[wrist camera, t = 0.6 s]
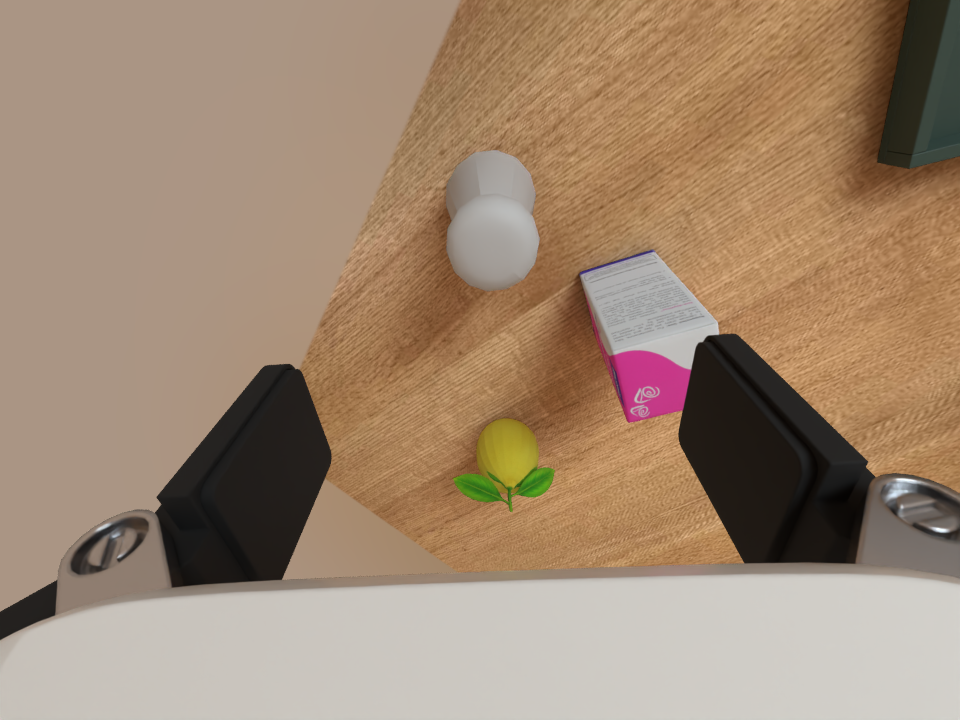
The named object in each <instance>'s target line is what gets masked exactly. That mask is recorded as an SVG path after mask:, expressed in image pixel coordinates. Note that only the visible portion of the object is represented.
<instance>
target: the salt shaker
mask: <svg viewBox="0 0 960 720" xmlns="http://www.w3.org/2000/svg"><path fill="white" fill-rule="evenodd" d="M535 197H536V192H535V189H534V185H533V182H532V178H531V175H530V173H529V172H528V170H527V169H526V168H525V167H524V166H523V165H522V164H521V162H520V161H519V160H518V159H517V158H516V157H514V156H511V155H508V154H506V153H503V152H500V151H497V150H492V151H483V152H475V153H473V154H472V155H471V156H469V157H468V158H467V159H465V160H464V161H462V162H461V163H460V164H458V165H457V167H456V169H455V170H454V172H453V174H452V176H451V177H450V179H449V181H448V183H447V189H446V207H447V210H448V212H449V215H450V218H451V221H452V222H451V223H450V225H449V227H448V229H447V246H446V250H447V254H448V256H449V259H450V261H451V264H452V266H453V269H454V272H455V273H456V274H457V275H458V276H459V277H461V278H462V279H463V280H464V281H465V282H466V283H467V284H468V285H470V286H473V287H476V288H479V289H482V290H485V291H494V290H503V289H508V288H509V287H511V286H513V285H515V284H517V283H518V282H520V281H522V280H524V278H525V277H526V275H527V274H528V273H529V271H530V270H531V268H532V267H533V265H534V264H535V261H536V256H537V251H538V246H539V240H540V238H539V235H538V231H537V228H536V225H535V221H534V218H533V217H532V215H533V209H534V203H535Z"/></svg>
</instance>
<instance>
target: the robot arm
mask: <svg viewBox="0 0 960 720" xmlns="http://www.w3.org/2000/svg"><path fill="white" fill-rule="evenodd" d="M678 434H679V442H680V445H681V448H682V449H683V451H684V453H685V455H686V457H687V459H688V460H689V462H690V464H691V466H692V468H693V470H694V471H695V473H696V475H697V477H698V479H699V481H700V482H701V484H702V486H703V488H704V490H705V492H706V493H707V495H708V497H709V499H710V501H711V503H712V505H713V506H714V508H715V510H716V512H717V514H718V516H719V517H720V519H721V521H722V523H723V525H724V527H725V528H726V530H727V532H728V534H729V536H730V538H731V539H732V541H733V543H734V545H735V547H736V549H737V550H738V552H739V554H740V556H741V558H742V560H743V561H744V563H745V564H698V565H666V566H634V567H602V568H571V569H543V570H515V571H488V572H461V573H435V574H409V575H385V576H363V577H362V576H361V577H339V578H315V579H291V580H282V578H283V576H284V573H285V571H286V569H287V566H288V564H289V562H290V559H291V557H292V555H293V552H294V550H295V547H296V545H297V543H298V540H299V538H300V535H301V533H302V531H303V529H304V526H305V524H306V521H307V519H308V517H309V514H310V512H311V510H312V507H313V505H314V502H315V500H316V498H317V495H318V493H319V491H320V488H321V486H322V484H323V481H324V479H325V477H326V474H327V472H328V469H329V467H330V464H331V450H330V447H329V444H328V442H327V439H326V436H325V434H324V431H323V428H322V425H321V423H320V420H319V417H318V415H317V412H316V409H315V406H314V404H313V401H312V398H311V395H310V393H309V390H308V387H307V385H306V382H305V379H304V376H303V374H302V372H301V371H300V370H298V369H295V368H294V367H293V366H292V365H290V364H282V365H281V364H280V365H267V366H264V367H263V368H262V369H261V370H260V371H259V373H258V374H257V375H256V376H255V378H254V379H253V380H252V381H251V382H250V384H249V385H248V386H247V387H246V388H245V390H244V391H243V392H242V394H241V395H240V396H239V397H238V398H237V400H236V401H235V402H234V403H233V405H232V406H231V407H230V408H229V409H228V410H227V412H226V413H225V414H224V415H223V417H222V418H221V419H220V420H219V421H218V423H217V424H216V425H215V426H214V428H213V429H212V430H211V431H210V432H209V434H208V435H207V436H206V437H205V439H204V440H203V441H202V442H201V443H200V445H199V446H198V447H197V448H196V450H195V451H194V452H193V453H192V454H191V456H190V457H189V458H188V459H187V461H186V462H185V463H184V464H183V466H182V467H181V468H180V469H179V470H178V472H177V473H176V474H175V475H174V477H173V478H172V479H171V480H170V481H169V483H168V484H167V485H166V486H165V487H164V489H163V490H162V491H161V492H160V494H159V495H158V496H157V499H158V500H159V501H160V503H161V504H162V505H161V506H160V507H159V509H158V510H157V511H156V512H155V513H154V512H151V511H149V510H133V511H128V512H124V513H121V514H119V515H116V516H114V517H111V518H109V519H107V520H105V521H103V522H102V523H100V524H98V525H97V526H95V527H93V528H92V529H90V530H89V531H88V532H86V533H85V534H84V535H83V536H81V537H80V538H79V539H78V540H77V541H76V542H75V543H74V544H73V545H72V546H71V547H70V548H69V549H68V551H67V552H66V554H65V555H64V557H63V558H62V560H61V563H60V566H59V570H58V580H56V581H55V582H53V583H51V584H49V585H47V586H46V587H44V588H42V589H40V590H38V591H37V592H35V593H33V594H31V595H29V596H28V597H26V598H24V599H22V600H20V601H19V602H17V603H15V604H13V605H12V606H10V607H8V608H6V609H4V610H3V611H1V612H0V720H960V493H958V492H956V491H954V490H952V489H951V488H949V487H947V486H944V485H942V484H939V483H937V482H934V481H932V480H929V479H925V478H921V477H917V476H914V475H908V474H898V473H892V474H884V475H880V476H878V477H875V476H874V475H873V474H872V473H871V472H870V471H869V470H868V469H867V468H866V465H867V463H868V461H867V460H866V459H865V458H864V457H863V456H862V455H861V454H860V453H859V452H858V451H857V450H856V449H855V448H854V447H853V446H851V445H850V444H849V443H848V442H847V441H846V440H845V439H844V438H843V437H842V436H841V435H840V434H839V433H838V432H837V431H836V430H835V429H834V428H833V427H832V426H831V425H830V424H829V423H828V422H827V421H826V420H825V419H824V418H823V417H822V416H821V415H820V414H819V413H818V412H817V411H815V410H814V409H813V408H812V407H811V406H810V405H809V404H808V403H807V402H806V401H805V400H804V399H803V398H802V397H801V396H800V395H799V394H798V393H797V392H796V391H795V390H794V389H793V388H792V387H791V386H790V385H789V384H788V383H787V382H786V381H785V380H784V379H783V378H782V377H781V376H779V375H778V374H777V373H776V372H775V371H774V370H773V369H772V368H771V367H770V366H769V365H768V364H767V363H766V362H765V361H764V360H763V359H762V358H761V357H760V356H759V355H758V354H757V353H756V352H755V351H754V350H753V349H752V348H751V347H750V346H749V345H748V344H747V343H746V342H745V341H743V340H742V339H741V338H740V337H739V336H738V335H737V334H722V335H708V336H707V337H706V338H705V339H704V341H703V342H699V343H698V344H697V346H696V349H695V353H694V358H693V363H692V368H691V373H690V378H689V383H688V388H687V393H686V398H685V402H684V407H683V412H682V417H681V422H680V427H679V433H678Z"/></svg>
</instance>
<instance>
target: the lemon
mask: <svg viewBox="0 0 960 720" xmlns="http://www.w3.org/2000/svg"><path fill="white" fill-rule="evenodd" d="M476 455H477V465H478V468H479V471H480V473H481V475H482V476H481V475H478V474H464V475H460V476H458V477H455V478H453V480H454V482H455V484H456V486H457V487H458V489H459V490H460V491H461V492H462V493H463V494H464V495H466V496H467V497H469V498H471V499H473V500H477V501H481V502H494V501H504V502H506V503H507V504H508V505H509V510H510V512H513V511H512V502H511V497H513V496H515V495H521V496H526V497H538V496H540V495H542V494H543V493H545V492H546V491H547V490H548V489H549V487H550V485H551V484H552V481H553V477H554V472H555V470H553V469H551V468H545V467H544V468H539V469H537V467H538V457H539V450H538V444H537V441H536V438H535V436H534V434H533V432H532V431H531V430H530V429H529V428H528V427H527V426H526V425H525V424H523V423H522V422H520V421H518V420H514V419H510V418H502V419H498V420H495V421H493V422H492V423H490V424H488V425H487V426H486V427H485V429H484V430H483V431H482V432H481V434H480V436H479V439H478V442H477V447H476ZM499 492H501V493H508V501H509V502H507V501H506V500H504V499H503V498H502V497H501V495H500V493H499ZM515 492H516V493H515ZM511 493H515V494H513V495H511Z"/></svg>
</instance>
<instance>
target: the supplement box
mask: <svg viewBox="0 0 960 720" xmlns="http://www.w3.org/2000/svg"><path fill="white" fill-rule="evenodd" d="M579 276H580V279H581V282H582V285H583V289H584V293H585V296H586V300H587V304H588V308H589V312H590V317H591V321H592V326H593V331H594V334H595V337H596V340H597V342H598V345H599V348H600V350H601V353H602V356H603V358H604V361H605V364H606V366H607V369H608V372H609V374H610V377H611V379H612V382H613V385H614V387H615V390H616V393H617V395H618V398H619V401H620V403H621V406H622V409H623V411H624V414H625V417H626V419H627V422H629V423H630V422H635V421H640V420H644V419H648V418H652V417H656V416H660V415H664V414H668V413H673V412H677V411H682V410H683V407H684V402H685V398H686V393H687V388H688V383H689V378H690V373H691V368H692V363H693V358H694V353H695V349H696V346H697V344H698V343H699V342H703V341H704V339H705V338H706V337H707V336H708V335H719V330H718V322H717V321H716V320H715V319H714V318H713V316H712V315H711V314H710V313H709V312H708V311H707V310H706V309H705V308H704V306H703V305H702V304H701V303H700V302H699V301H698V300H697V299H696V298H695V296H694V295H693V294H692V293H691V292H690V291H689V290H688V288H687V287H686V286H685V285H684V284H683V283H682V282H681V281H680V280H679V278H678V277H677V276H676V275H675V274H674V273H673V272H672V271H671V270H670V269H669V267H668V266H667V265H666V264H665V263H664V262H663V261H662V260H661V258H660V257H659V256H658V255H657V254H656V253H655V251H654V250H649V251H645V252H642V253H639V254H636V255H633V256H630V257H627V258H624V259H620V260H618V261H614V262H611V263H608V264H604V265H601V266H597V267H595V268H591V269H588V270H585V271H582V272H580V274H579Z"/></svg>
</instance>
